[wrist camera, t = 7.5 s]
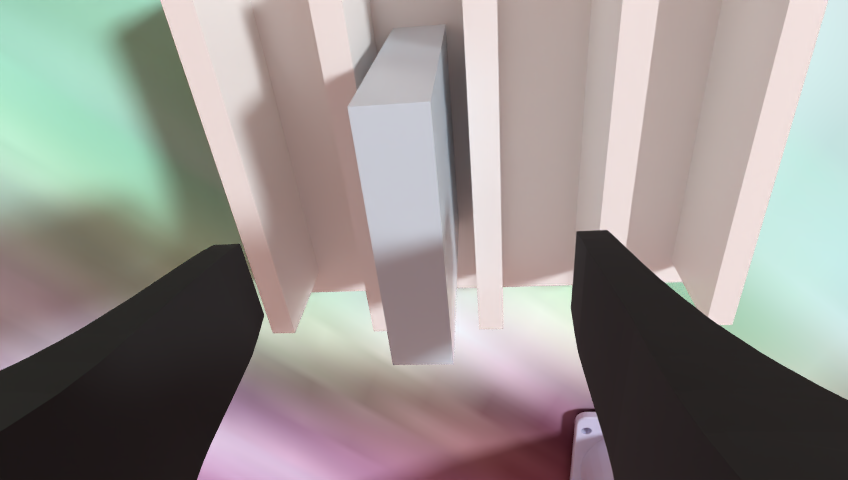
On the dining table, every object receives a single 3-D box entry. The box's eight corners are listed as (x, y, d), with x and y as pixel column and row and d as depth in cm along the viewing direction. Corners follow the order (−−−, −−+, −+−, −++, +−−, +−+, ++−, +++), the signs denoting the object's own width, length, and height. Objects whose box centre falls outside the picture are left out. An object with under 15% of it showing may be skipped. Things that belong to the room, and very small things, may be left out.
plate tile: (459, 223, 20) (453, 364, 14) (416, 225, 20) (392, 364, 14) (445, 23, 16) (430, 101, 10) (393, 28, 16) (347, 107, 10)
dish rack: (691, 265, 21) (738, 347, 17) (302, 277, 23) (269, 353, 19) (778, -132, 14) (891, -140, 10) (207, -68, 16) (124, -55, 12)
